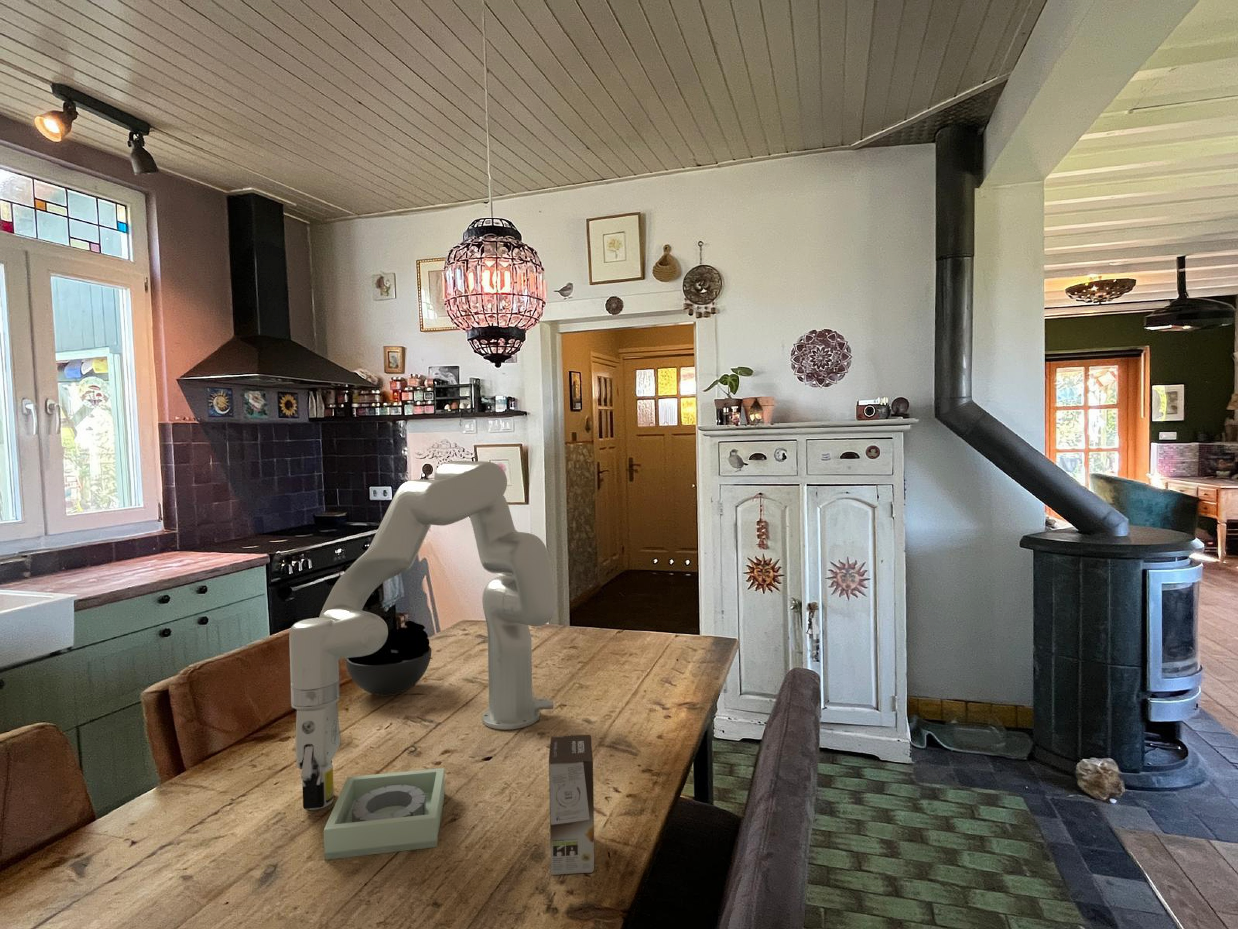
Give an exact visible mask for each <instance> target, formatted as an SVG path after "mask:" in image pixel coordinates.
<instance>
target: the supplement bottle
mask: <svg viewBox="0 0 1238 929" xmlns="http://www.w3.org/2000/svg"><path fill="white" fill-rule="evenodd" d="M316 764H318V763H317V761H314V762H313V765H316ZM312 772H313V773H315V774H316V776H317V769H313V770H312ZM322 782H324V806H323V807H321V808H311V809H308V810H310V811H317V810H321V809H324V808H327V807H328V806H330V805H331V804H332V803H333V802H334V798H335V796H334V795H335V792H334V790H335V789H334V766H333V762H332V763H331V762H330V764H329V765H328V766H327V767H324V766H322Z"/></svg>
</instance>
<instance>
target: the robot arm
mask: <svg viewBox="0 0 1238 929" xmlns="http://www.w3.org/2000/svg"><path fill="white" fill-rule="evenodd" d="M433 477H434V479H411V480H408V481H406V482H403V483H402V484H401V485H400V486H399V487H398V489H397V490H396V491H395V493H394V496H393V498H392V500H391V502H390V504H389V506H388V508H387V510H386V512H385V514H384V516H383V518H382V520H381V522H380V525H379V527H378V529H377V530H376V532H375V535H374V537H373V539H372V541H371V542H370V545H369V547H368V548H367V550H365V552H364V553H363V554H362V555H360V556H359V557H358V558H357V559H356V560H355V561H354V562H353V563H352V564H351V565H349V566H350V567H348V568H347V569H346V570H345V571H344V572H343V573H342V574H341V575H340V577H339V578H338V579H337V581H336V582H335V584H334V585H333V586H332V588H331V590H330V593H329V595H328V596H327V598H326V600H325V603H324V605H323V607H322V610H321V611H320V614H319V617H314V618H306V619H302V620H299V621H297V622H295V623H294V624H293V625H292V626H290V629H289V632H288V633H289V635H288V636H289V639H288V640H289V663H290V664H289V667H290V668H289V669H290V670H289V671H290V706H291V708H293V709H295V710H296V719H295V723H296V724H295V756H296V757H295V759H296V766H297V768H298V769H299V770H301V773H300V776H301V777H300V778H301V782H302V783H301V786H302V808H303V809H304V810H309V809H311V808H321V807H323V806H324V782H322V766H324V767H327V766H328V765H329V764H330V762H331V763H332V764H333V759H334V757H335V755H336V753H337V751H338V750H339V747H340V744H341V733H340V732H341V731H340V720H339V719H340V718H339V707H338V701H339V700H340V698H341V696H340V665H339V664H340V663H339V661H340V660H341V659H346V658H351V657H361V656H366V655H370V654H372V653H374V652H376V651H378V650H379V649H380V648H381V647H382V646H383V645H384V643H385V642H386V640H387V636H388V633H389V628H388V625H387V623H386V621H384V620H383V619H382V618H381V616H379V615H378V614H375V613H372V612H369V611H365V610H363V608H364V606H365V604H366V603H367V600H368V599H369V598H370V596H371V595H372V593H373V592H374V591H375V590H376V589H377V588H378V587H380V585H382V584H383V583H385V582H386V581H388V580H390V579H392V578H394V577H396V576H399V575H400V574H402V573H404V572H406V571H408V570H410V569H411V567H413V565H414V562H415V561H416V559H417V556H418V554H419V552H420V549H421V547H422V545H423V543H424V540H425V538H426V537H427V534H428V532H429V530H430V529H431V526H442V527H443V526H449V525H452V524H453V525H454V523H455V524H456V523H458V522H459V521H462V520H465V519H467V518H469V520H470V522H471V526H472V531H473V535H474V539H475V543H476V548H477V553H478V556H479V560H480V563H481V566H482V567H483V569H484V570H486V571H487V572H489V573H492V574H495V575H500V576H496V577H494V578H492V579H491V580H489V582H488V583H487V584H485V587H484V589H483V592H482V596H481V597H482V607H483V608H482V609H483V614H484V618H485V623H486V631H487V662H488V663H487V664H488V666H487V668H488V670H487V672H488V708H487V709H486V710H485V711H484V712H483V713H482V715H481V720H482V723H483V724H484V725H485V726H487V727H488V728H491V729H496V730H505V731H506V730H507V731H508V730H517V729H522V728H526V727H528V726H530V725H531V726H532V725H533V724H534V723H536V722H537V721H538V720H539V719H540V717H541V713H540V712H541V711H540V710H554V700H553V699H551V700H550V699H549V700H548V697H541V698H540V697H539V698H537V697H535V695H534V692H533V669H532V668H533V665H532V664H533V661H532V660H533V658H532V657H533V655H532V652H533V651H532V647H533V645H532V636H531V635H532V634H531V630H530V626H531V627H542V626H545V625H546V624H548V623H549V622H550V621H551V620H552V619H553V617H554V616H555V613H556V610H557V605H558V602H557V600H558V599H557V591H556V590H557V589H556V586H555V585H556V584H555V581H554V575H553V569H552V565H551V560H550V559H551V558H550V555H549V551H548V549H547V546H546V544H545V543H544V541H543V540H542V539H541V538H540V537H539V536H536V535H535V534H533V533H529V532H525V531H524V532H521V531H518V530H516V527H515V524H514V521H513V517H512V513H511V511H510V507H509V503H508V501H507V499H506V497H505V496H504V495H505V492H506V491H507V487H508V479H507V475H506V472H505V471H504V469H503V468H502V467H501V466H500V465H499V464H497V463H495V462H491V461H483V460H482V461H478V460H474V461H471V460H451V461H447V462H443V463H442V464H441V465H439V466H438V467H437V468H436V470H435V472H434V476H433ZM314 761H317V763H318V764H316V765H313V762H314ZM313 769H317V776H316V774H315V773H313V772H312V770H313ZM321 809H322V808H321Z"/></svg>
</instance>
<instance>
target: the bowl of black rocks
mask: <svg viewBox="0 0 1238 929" xmlns="http://www.w3.org/2000/svg"><path fill="white" fill-rule="evenodd" d="M380 617H381V618H382V619H383V620H384V621H385V622H386V621H387V620H389V619H391V618H392V617H391V616H385V615H382V616H380ZM404 626H405V627H399V628H398V629H397V628H395V627H392V629H390V630H388V636H387V640H386V642H385V643H384V645H383V646H382V647H381V648H380V649H379V650H378V651H376V652H374V653H372V654H370V655H366V656H361V657H351V658H344V659H345V666H346V670H347V671H348V674H349V676H350V679H352V682H354V683H355V685H357V686H358V687H359V688H361V690H363V691H365V692H368V693H369V694H372V695H375V696H376V695H377V696H384V697H385V696H395V695H397V694H401V693H403V692H405V691H408V690H409V689H410V688H412V687H413V686H415V685H416V684H417V683H418V682H419V681H420V680H421V679H422V678H423V676H424V674H426V672H427V669H428V667H429V665H430V661H431V658H432V647H431V646H430V639H429V638H428V635H429V634H428V633H427V632H426V630H425V629H426V627H425V626H424V625H423V624H421V623H418V622H415V621H413V620H405V622H404Z"/></svg>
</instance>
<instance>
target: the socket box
mask: <svg viewBox="0 0 1238 929" xmlns="http://www.w3.org/2000/svg"><path fill="white" fill-rule="evenodd" d="M445 781H446V780H445V767H439V768H437V767H436V768H429V769H418V770H417V769H416V770H410V771H408V770H407V771H397V772H385V773H378V774H377V773H375V774H365V775H356V776H348V777H347V778H346V780H345V782H344V784H343V786H342V788H341V791H340V792H339V795H338V797H337V800H336V802H335V804H334V806H333V809H332V811H331V813H330V815H329V817H328V820H327V822H326V824H325V826H324V828H323V848H324V849H323V851H324V852H323V854H324V855H323V856H324V857H323V858H324V861H327V860H336V859H344V858H353V857H361V856H363V857H364V856H368V855H369V856H370V855H380V854H385V853H387V854H388V853H397V852H404V851H412V850H415V851H416V850H422V849H423V850H424V849H430V848H437V847H438V840H439V833H440V828H441V820H442V814H443V807H444V801H445V795H446V794H445V793H446V788H445V785H446V784H445Z"/></svg>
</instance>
